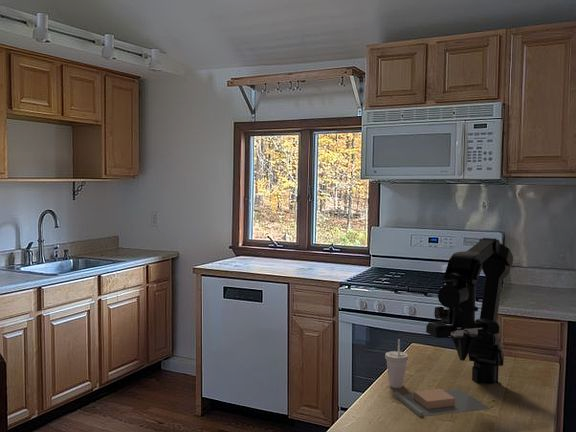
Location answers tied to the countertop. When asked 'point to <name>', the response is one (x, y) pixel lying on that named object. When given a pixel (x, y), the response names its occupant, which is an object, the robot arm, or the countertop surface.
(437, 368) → the countertop surface
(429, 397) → the tile
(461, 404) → the slate board
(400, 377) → the smoothie
